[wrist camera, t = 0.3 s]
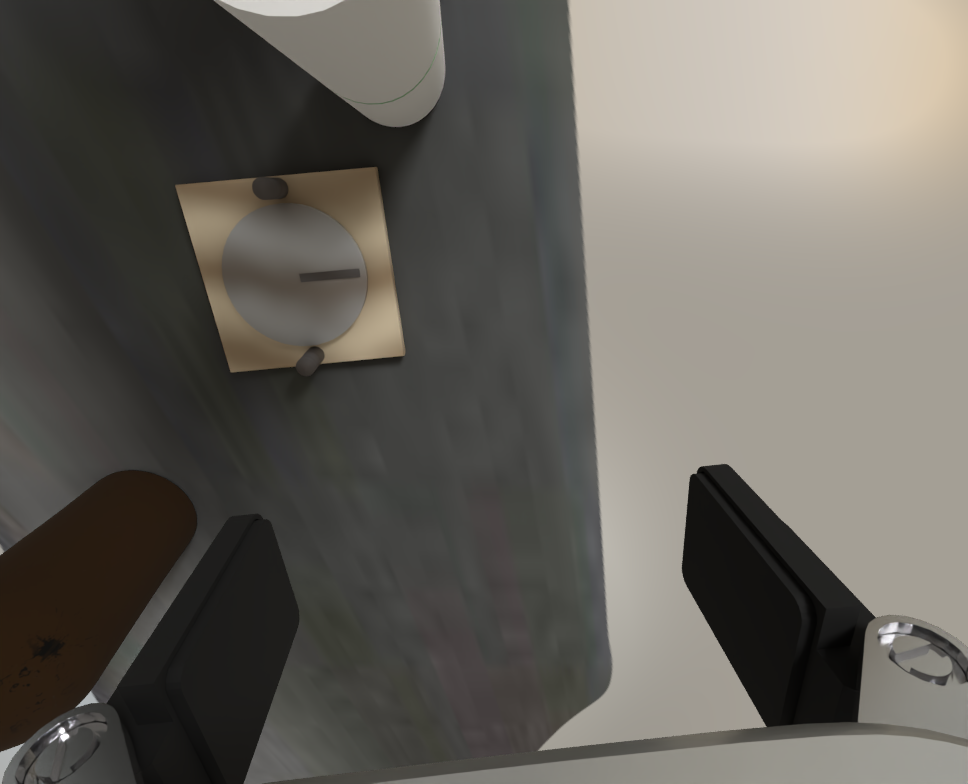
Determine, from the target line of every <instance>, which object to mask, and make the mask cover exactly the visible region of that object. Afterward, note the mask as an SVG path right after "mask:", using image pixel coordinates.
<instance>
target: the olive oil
mask: <svg viewBox="0 0 968 784" xmlns="http://www.w3.org/2000/svg"><path fill="white" fill-rule="evenodd" d="M196 527H197V516H196V512H195V509H194V506H193V504H192V502H191V501H190V499H189V498H188V497H187V495H186V494H185V493H184V492H183V491H182V490H181V489H180V488H179V487H178V486H176V485H175V484H173V483H172V482H170V481H169V480H167V479H165V478H163V477H161V476H158V475H155V474H152V473H149V472H144V471H135V470H129V471H120V472H116V473H113V474H110V475H108V476H106V477H104V478H103V479H101V480H100V481H98V482H97V483H96V484H94V485H93V486H92V487H90V488H89V489H88V490H86V491H85V492H84V493H83V494H81V495H80V496H79V497H77V498H76V499H75V500H74V501H72V502H71V503H70V504H68V505H67V506H66V507H65V508H63V509H62V510H61V511H59V512H58V513H57V514H55V515H54V516H53V517H51V518H50V519H49V520H47V521H46V522H45V523H43V524H42V525H41V526H39V527H38V528H37V529H35V530H34V531H33V532H31V533H30V534H28V535H27V536H26V537H24V538H23V539H22V540H20V541H19V542H18V543H16V544H15V545H14V546H12V547H11V548H10V549H8V550H7V551H6V552H4V553H3V554H1V555H0V752H1V751H4V750H7V749H10V748H12V747H15V746H18V745H20V744H23V743H25V742H26V741H27V740H29V739H30V738H31V737H32V736H33V735H34V734H35V733H36V732H37V731H39V730H40V729H41V728H42V727H44V726H45V725H47V724H48V723H49V722H51V721H52V720H54V719H55V718H57V717H58V716H60V715H62V714H64V713H66V712H68V711H70V710H72V709H74V708H75V707H76V706H77V705H78V704H79V703H80V702H81V701H82V700H83V699H84V698H85V697H86V696H87V695H88V693H89V692H90V691H91V689H92V688H93V687H94V685H95V684H96V682H97V681H98V679H99V678H100V676H101V675H102V673H103V672H104V670H105V669H106V667H107V665H108V664H109V662H110V661H111V659H112V658H113V656H114V655H115V653H116V652H117V650H118V648H119V647H120V645H121V644H122V642H123V641H124V639H125V638H126V636H127V635H128V633H129V631H130V630H131V628H132V627H133V625H134V624H135V622H136V621H137V619H138V618H139V616H140V615H141V613H142V612H143V610H144V609H145V607H146V606H147V604H148V603H149V601H150V600H151V598H152V597H153V595H154V593H155V592H156V590H157V589H158V587H159V586H160V584H161V583H162V581H163V580H164V578H165V577H166V575H167V574H168V573H169V571H170V570H171V568H172V567H173V565H174V564H175V562H176V561H177V560H178V558H179V557H180V555H181V554H182V552H183V551H184V550H185V548H186V547H187V545H188V544H189V542H190V541H191V539H192V537H193V536H194V533H195V531H196Z"/></svg>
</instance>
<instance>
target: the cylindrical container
mask: <svg viewBox="0 0 968 784" xmlns="http://www.w3.org/2000/svg"><path fill="white" fill-rule="evenodd" d="M214 1H215V2H216V3H218V4H219V5H220V6H221V7H223V8H224V9H225V10H227V11H228V12H229V13H231V14H232V15H233V16H235V17H236V18H237V19H238V20H240V21H241V22H242V23H244V24H245V25H246V26H248V27H249V28H250V29H252V30H253V31H254V32H255V33H257V34H258V35H259V36H261V37H262V38H263V39H265V40H266V41H267V42H268V43H270V44H271V45H272V46H274V47H275V48H276V49H278V50H279V51H280V52H282V53H283V54H284V55H285V56H287V57H288V58H289V59H291V60H292V61H293V62H295V63H296V64H297V65H298V66H300V67H301V68H302V69H304V70H305V71H306V72H308V73H309V74H310V75H312V76H313V77H314V78H315V79H317V80H318V81H319V82H321V83H322V84H323V85H325V86H326V87H327V88H329V89H330V90H331V91H333V92H334V93H335V94H337V95H338V96H339V97H341V98H342V99H343V100H345V101H346V102H347V103H348V104H350V105H351V106H352V107H354V108H355V109H356V110H358V111H359V112H360V113H362V114H363V115H364V116H366V117H367V118H369V119H370V120H372V121H374V122H376V123H378V124H380V125H384V126H389V127H403V126H408V125H411V124H414V123H416V122H418V121H420V120H421V119H422V118H424V117H425V116H427V114H428V113H429V112H430V111H431V110H432V109H433V108H434V106H435V105H436V103H437V101H438V99H439V98H440V95H441V92H442V89H443V86H444V79H445V58H444V46H443V35H442V24H441V12H440V0H214Z"/></svg>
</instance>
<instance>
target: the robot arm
mask: <svg viewBox="0 0 968 784" xmlns="http://www.w3.org/2000/svg"><path fill="white" fill-rule="evenodd" d="M682 573H683V578H684V581H685V583H686V585H687V587H688V589H689V591H690V592H691V594H692V596H693V598H694V599H695V601H696V603H697V605H698V606H699V608H700V610H701V612H702V613H703V615H704V617H705V619H706V621H707V622H708V624H709V626H710V628H711V629H712V631H713V633H714V635H715V637H716V638H717V640H718V642H719V644H720V645H721V647H722V649H723V651H724V652H725V654H726V656H727V658H728V659H729V661H730V663H731V665H732V667H733V668H734V670H735V672H736V674H737V675H738V677H739V679H740V681H741V682H742V684H743V686H744V688H745V689H746V691H747V693H748V695H749V697H750V698H751V700H752V702H753V704H754V705H755V707H756V709H757V710H758V712H759V714H760V716H761V718H762V719H763V721H764V723H765V725H766V726H767V727H764V728H752V729H741V730H730V731H718V732H709V733H700V734H690V735H682V736H672V737H662V738H653V739H644V740H635V741H625V742H616V743H606V744H597V745H588V746H580V747H570V748H561V749H552V750H544V751H534V752H526V753H517V754H508V755H499V756H490V757H481V758H473V759H464V760H455V761H447V762H438V763H429V764H420V765H412V766H404V767H395V768H387V769H378V770H370V771H362V772H353V773H345V774H337V775H328V776H320V777H312V778H303V779H295V780H287V781H279V782H271V783H264V784H968V647H967V646H966V645H964V644H963V643H962V642H961V641H960V640H958V639H957V638H956V637H954V636H952V635H951V634H949V633H947V632H946V631H944V630H942V629H941V628H939V627H937V626H934V625H932V624H929V623H927V622H924V621H922V620H918V619H915V618H911V617H907V616H899V615H898V616H897V615H887V616H881V617H877V618H876V617H875V616H874V615H873V614H872V613H871V612H870V611H869V610H868V609H867V608H866V607H865V606H864V605H863V604H862V603H861V602H860V601H859V600H858V599H857V598H856V597H855V596H854V594H853V593H852V592H851V591H850V590H849V589H848V588H847V587H846V586H845V585H844V584H843V583H842V582H841V581H840V580H839V579H838V578H837V577H836V576H835V574H834V573H833V572H832V571H831V570H830V569H829V568H828V567H827V566H826V565H825V564H824V563H823V562H822V561H821V560H820V559H819V558H818V557H817V556H816V555H815V554H814V553H813V552H812V550H811V549H810V548H809V547H808V546H807V545H806V544H805V543H804V542H803V541H802V540H801V539H800V538H799V537H798V536H797V535H796V534H795V533H794V532H793V530H792V529H791V528H789V526H788V525H786V524H785V523H784V522H783V521H782V520H781V519H780V518H778V516H777V515H776V514H775V513H774V512H773V511H772V510H771V509H770V508H769V507H768V506H767V505H766V504H765V502H764V501H763V500H762V499H761V498H760V497H759V496H758V495H757V494H756V493H755V492H754V491H753V490H752V489H751V488H750V487H749V486H748V485H747V484H746V482H744V480H743V479H742V478H741V477H740V476H739V475H738V474H737V473H736V472H735V471H734V470H733V469H732V468H731V467H730V466H729V465H727V464H721V465H712V466H703V467H700V468H699V469H698V471H697V474H692V475H691V477H690V482H689V494H688V504H687V516H686V527H685V539H684V550H683V561H682ZM298 625H299V609H298V606H297V603H296V599H295V596H294V593H293V590H292V587H291V584H290V581H289V577H288V574H287V571H286V568H285V565H284V562H283V559H282V556H281V552H280V549H279V546H278V543H277V540H276V537H275V534H274V530H273V527H272V524H271V522H270V521H269V520H267V519H266V520H263V518H262V517H261V515H259V514H250V515H241V516H232V517H230V518H229V519H228V520H227V521H226V523H225V524H224V526H223V527H222V529H221V530H220V532H219V533H218V535H217V537H216V538H215V540H214V541H213V543H212V544H211V546H210V547H209V549H208V550H207V552H206V553H205V555H204V556H203V558H202V559H201V561H200V562H199V564H198V565H197V567H196V568H195V570H194V571H193V573H192V574H191V576H190V577H189V579H188V580H187V582H186V583H185V585H184V586H183V588H182V589H181V591H180V592H179V594H178V595H177V597H176V598H175V600H174V601H173V603H172V604H171V606H170V608H169V609H168V611H167V612H166V614H165V615H164V617H163V618H162V620H161V621H160V623H159V624H158V626H157V627H156V629H155V630H154V632H153V633H152V635H151V636H150V638H149V639H148V641H147V642H146V644H145V645H144V647H143V648H142V650H141V651H140V653H139V654H138V656H137V657H136V659H135V660H134V662H133V663H132V665H131V666H130V668H129V669H128V671H127V672H126V674H125V675H124V677H123V679H122V680H121V682H120V683H119V685H118V686H117V689H116V690H115V692H114V693H113V695H112V696H111V698H110V699H109V701H108V702H107V704H105V703H91V704H88V705H84V706H81V707H77V708H74V709H72V710H70V711H68V712H66V713H64V714H62V715H60V716H58V717H57V718H55V719H54V720H52V721H51V722H49V723H48V724H47V725H45V726H44V727H42V728H41V729H40V730H39V731H37V732H36V733H35V734H34V735H33V736H32V737H31V738H30V739H29V740H27V741H26V742H25V743H24V745H23V746H22V747H21V748H20V750H19V751H18V752H17V753H16V754H15V756H14V757H13V758H12V760H11V762H10V763H9V765H8V767H7V769H6V771H5V773H4V776H3V781H2V784H243V783H244V781H245V778H246V775H247V772H248V769H249V766H250V763H251V760H252V758H253V755H254V752H255V749H256V746H257V743H258V740H259V738H260V735H261V732H262V729H263V726H264V723H265V720H266V717H267V715H268V712H269V709H270V706H271V703H272V700H273V697H274V694H275V692H276V689H277V686H278V683H279V680H280V677H281V674H282V671H283V669H284V666H285V663H286V660H287V657H288V654H289V651H290V648H291V646H292V643H293V640H294V637H295V634H296V631H297V628H298Z"/></svg>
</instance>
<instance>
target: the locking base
mask: <svg viewBox="0 0 968 784" xmlns="http://www.w3.org/2000/svg"><path fill="white" fill-rule="evenodd" d="M175 187H176V190H177V194H178V197H179V200H180V204H181V207H182V210H183V214H184V217H185V220H186V224H187V227H188V230H189V234H190V237H191V241H192V244H193V247H194V251H195V254H196V257H197V261H198V264H199V267H200V271H201V274H202V277H203V281H204V284H205V287H206V291H207V294H208V298H209V301H210V304H211V308H212V311H213V314H214V318H215V321H216V324H217V328H218V331H219V334H220V338H221V341H222V345H223V348H224V351H225V355H226V358H227V361H228V365H229V368H230V371H231V373H232V372H242V371H252V370H263V369H273V368H283V367H294V366H296V370H297V372H298V373H299V374H301V375H303V376H310V375H312V374H313V373H314V371H315V370H316V369H317V368H318V366H319V365H320V364H325V363H335V362H345V361H356V360H366V359H376V358H387V357H397V356H404V355H405V346H404V339H403V332H402V326H401V319H400V313H399V306H398V299H397V293H396V286H395V280H394V273H393V267H392V260H391V253H390V247H389V240H388V234H387V227H386V220H385V214H384V207H383V201H382V194H381V187H380V181H379V174H378V168H377V167H369V168H358V169H347V170H336V171H325V172H314V173H303V174H292V175H281V176H270V177H258V178H248V179H237V180H226V181H214V182H203V183H192V184H181V185H175Z"/></svg>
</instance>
